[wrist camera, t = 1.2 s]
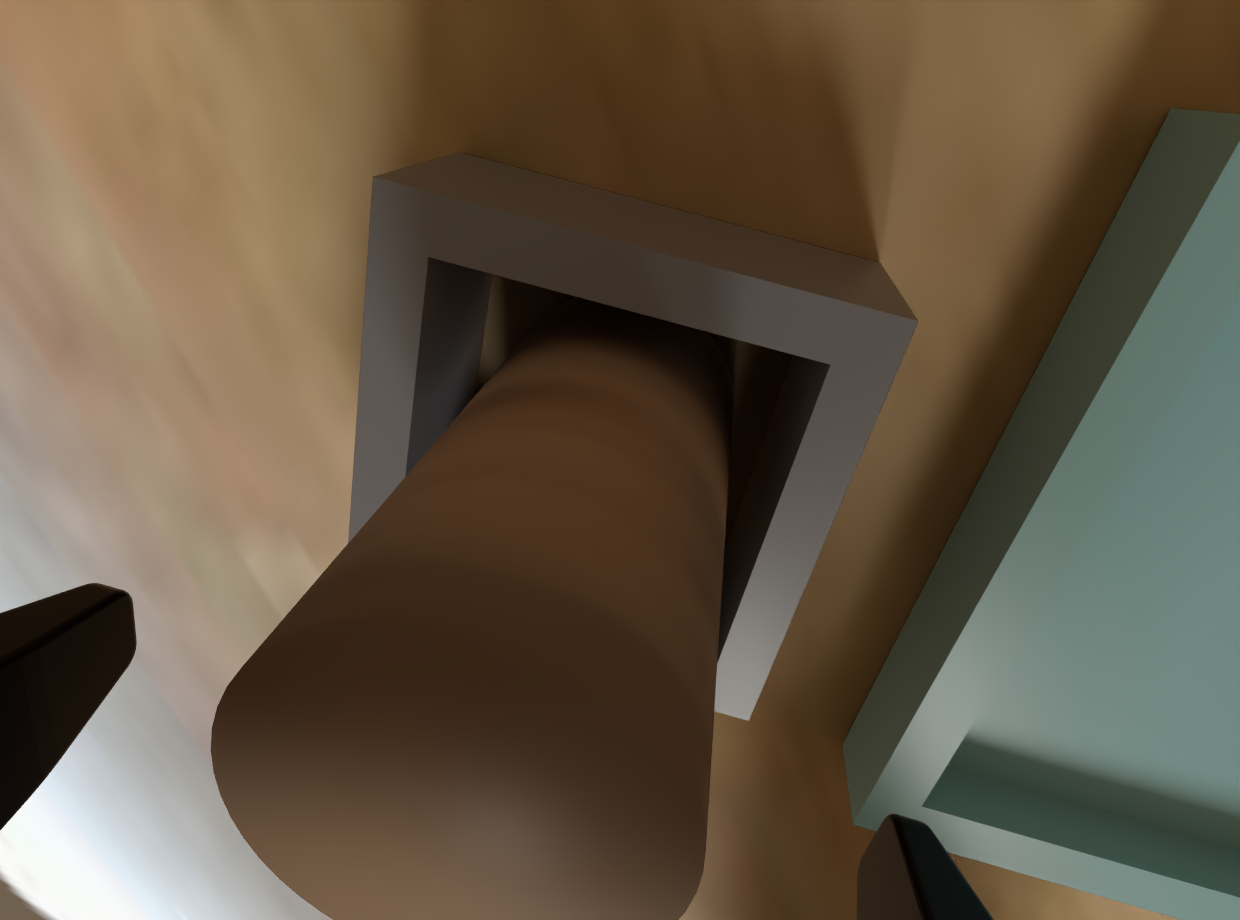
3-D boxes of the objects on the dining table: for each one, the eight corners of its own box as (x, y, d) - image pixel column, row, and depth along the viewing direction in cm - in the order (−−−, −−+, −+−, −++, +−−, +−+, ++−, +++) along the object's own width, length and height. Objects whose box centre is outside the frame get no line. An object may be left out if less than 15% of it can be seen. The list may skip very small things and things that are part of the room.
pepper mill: (698, 522, 18) (636, 1025, 9) (497, 466, 19) (217, 898, 9) (762, 324, 16) (776, 711, 6) (531, 263, 16) (202, 548, 7)
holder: (749, 601, 19) (748, 720, 16) (418, 508, 19) (344, 605, 16) (880, 262, 15) (918, 320, 12) (460, 152, 15) (373, 176, 12)
